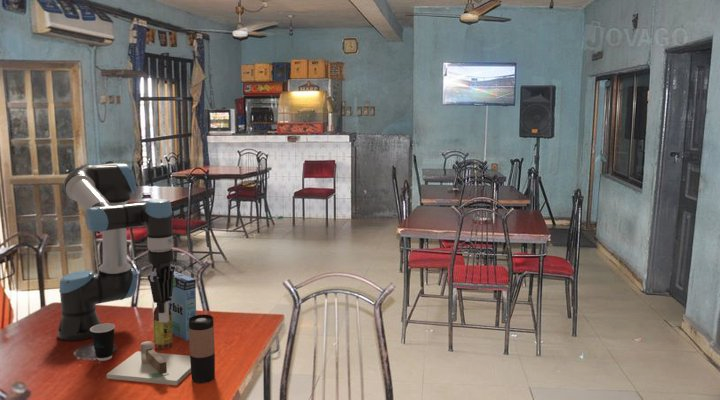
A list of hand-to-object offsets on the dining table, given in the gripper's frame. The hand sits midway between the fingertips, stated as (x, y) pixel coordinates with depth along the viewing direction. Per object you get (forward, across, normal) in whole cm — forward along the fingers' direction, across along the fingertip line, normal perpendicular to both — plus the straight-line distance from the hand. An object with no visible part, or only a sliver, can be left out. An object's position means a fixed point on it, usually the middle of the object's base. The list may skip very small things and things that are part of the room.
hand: (164, 321), depth 188 cm
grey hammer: (+16, +1, +4) cm, 17 cm away
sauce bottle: (+18, +21, +12) cm, 30 cm away
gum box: (+19, +34, +13) cm, 41 cm away
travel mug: (+18, 0, -13) cm, 22 cm away
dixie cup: (+18, +8, +27) cm, 34 cm away
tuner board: (+18, +3, +5) cm, 19 cm away
